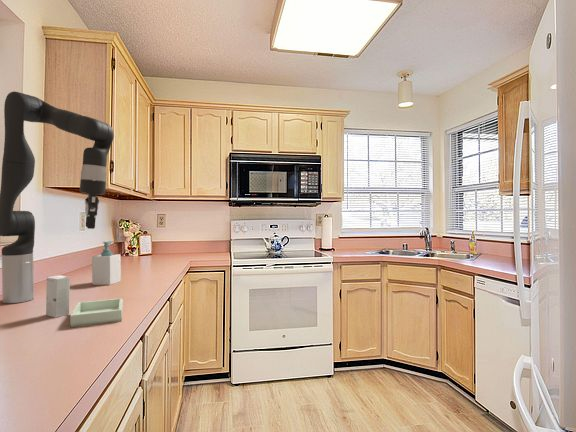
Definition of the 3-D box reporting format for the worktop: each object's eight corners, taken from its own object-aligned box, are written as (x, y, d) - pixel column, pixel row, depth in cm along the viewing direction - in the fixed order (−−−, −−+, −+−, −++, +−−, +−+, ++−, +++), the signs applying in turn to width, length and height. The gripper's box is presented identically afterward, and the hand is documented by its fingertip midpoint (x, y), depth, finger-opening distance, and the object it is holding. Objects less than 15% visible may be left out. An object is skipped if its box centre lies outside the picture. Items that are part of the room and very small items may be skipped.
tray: (78, 312, 113) (78, 302, 113) (122, 307, 119) (122, 298, 119) (70, 327, 99) (70, 315, 99) (121, 321, 104) (121, 310, 104)
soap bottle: (121, 281, 165) (120, 240, 165) (110, 285, 156) (109, 242, 156) (104, 281, 166) (103, 240, 166) (92, 284, 157) (91, 242, 157)
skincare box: (45, 315, 111) (44, 277, 110) (60, 311, 114) (59, 274, 114) (55, 318, 107) (55, 278, 107) (70, 314, 111) (70, 276, 111)
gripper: (79, 179, 121) (76, 226, 121) (81, 176, 109) (77, 228, 109) (104, 182, 125) (100, 227, 125) (108, 179, 113) (104, 229, 113)
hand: (90, 227), depth 117 cm, fingers open, 8 cm apart
